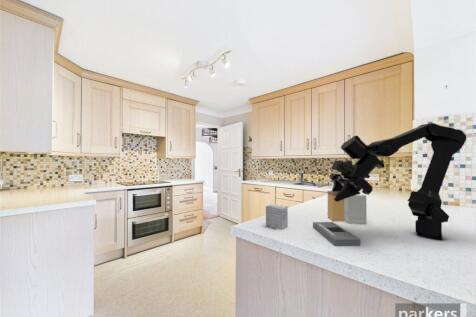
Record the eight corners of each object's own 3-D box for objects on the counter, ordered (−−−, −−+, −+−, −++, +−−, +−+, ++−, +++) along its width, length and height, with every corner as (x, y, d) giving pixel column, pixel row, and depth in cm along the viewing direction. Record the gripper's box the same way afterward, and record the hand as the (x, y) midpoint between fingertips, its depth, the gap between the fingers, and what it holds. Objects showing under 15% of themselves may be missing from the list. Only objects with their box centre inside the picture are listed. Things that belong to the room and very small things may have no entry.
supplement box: (367, 225, 85) (367, 195, 85) (347, 224, 87) (347, 194, 87) (360, 220, 92) (360, 192, 92) (342, 219, 94) (342, 192, 94)
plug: (338, 218, 75) (338, 191, 75) (344, 221, 71) (344, 192, 71) (327, 218, 75) (327, 191, 75) (333, 221, 71) (332, 192, 71)
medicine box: (288, 228, 82) (288, 206, 82) (282, 231, 79) (282, 208, 79) (271, 224, 88) (271, 203, 88) (265, 226, 84) (265, 205, 84)
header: (332, 228, 82) (332, 221, 82) (360, 247, 64) (360, 238, 64) (313, 228, 82) (312, 221, 82) (335, 247, 64) (334, 238, 64)
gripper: (333, 153, 83) (307, 181, 82) (362, 151, 64) (328, 187, 64) (353, 172, 83) (326, 200, 82) (387, 176, 64) (353, 212, 64)
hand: (332, 199), depth 73 cm, fingers closed on plug, 4 cm apart
